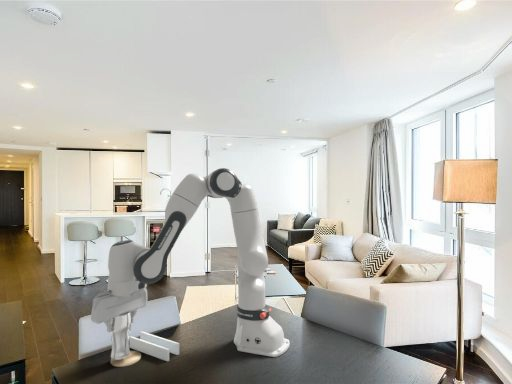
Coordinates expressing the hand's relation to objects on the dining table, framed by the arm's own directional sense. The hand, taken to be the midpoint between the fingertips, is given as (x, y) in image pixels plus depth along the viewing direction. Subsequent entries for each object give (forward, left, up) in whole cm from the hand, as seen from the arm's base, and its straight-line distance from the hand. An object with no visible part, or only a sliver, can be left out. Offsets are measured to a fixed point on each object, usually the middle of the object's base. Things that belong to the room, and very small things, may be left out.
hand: (120, 327), depth 105 cm
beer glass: (0, 0, -10) cm, 10 cm away
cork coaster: (0, -3, -12) cm, 12 cm away
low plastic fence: (-4, -12, -12) cm, 17 cm away
